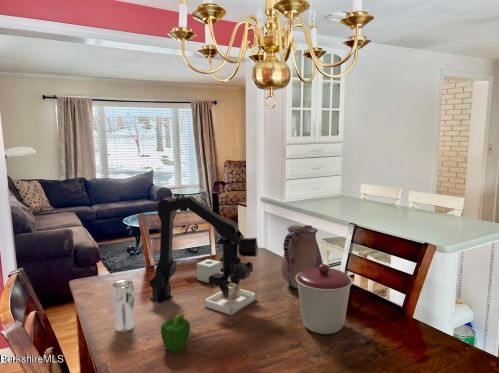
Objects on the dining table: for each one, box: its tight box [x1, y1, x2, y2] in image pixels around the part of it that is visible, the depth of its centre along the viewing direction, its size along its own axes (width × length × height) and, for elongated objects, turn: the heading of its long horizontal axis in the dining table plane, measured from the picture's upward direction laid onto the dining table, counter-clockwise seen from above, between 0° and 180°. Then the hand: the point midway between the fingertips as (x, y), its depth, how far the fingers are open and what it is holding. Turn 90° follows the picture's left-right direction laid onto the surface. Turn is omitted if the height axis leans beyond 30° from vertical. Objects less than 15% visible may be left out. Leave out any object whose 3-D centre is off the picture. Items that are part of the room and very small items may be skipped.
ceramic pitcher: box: [280, 224, 324, 290], centre depth 151 cm, size 18×21×25 cm
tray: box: [204, 288, 257, 316], centre depth 138 cm, size 16×13×2 cm
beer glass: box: [111, 279, 135, 333], centre depth 120 cm, size 7×7×15 cm
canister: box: [295, 263, 353, 335], centre depth 119 cm, size 18×18×21 cm
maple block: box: [220, 281, 241, 302], centre depth 137 cm, size 5×5×5 cm
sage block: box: [196, 258, 222, 284], centre depth 162 cm, size 8×8×8 cm
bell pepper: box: [160, 313, 191, 353], centre depth 108 cm, size 8×8×10 cm
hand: (230, 295), depth 138 cm, fingers closed on maple block, 5 cm apart
